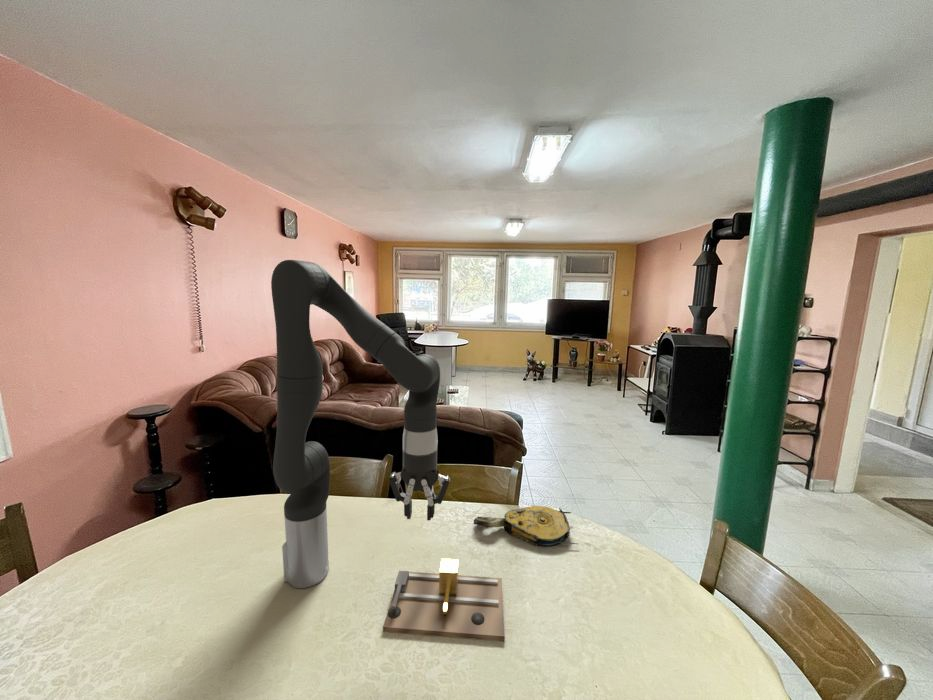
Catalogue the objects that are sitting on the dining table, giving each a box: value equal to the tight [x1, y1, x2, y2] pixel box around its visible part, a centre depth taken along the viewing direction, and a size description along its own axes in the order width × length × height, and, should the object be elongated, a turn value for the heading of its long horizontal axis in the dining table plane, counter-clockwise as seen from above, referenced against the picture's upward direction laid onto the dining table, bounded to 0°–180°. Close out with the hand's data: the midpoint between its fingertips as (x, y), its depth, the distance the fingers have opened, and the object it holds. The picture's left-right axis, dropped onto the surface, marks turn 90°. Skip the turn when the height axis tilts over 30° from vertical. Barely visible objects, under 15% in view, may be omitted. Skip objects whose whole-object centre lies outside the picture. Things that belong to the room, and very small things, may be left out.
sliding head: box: [438, 558, 460, 616], centre depth 80 cm, size 4×10×6 cm, turn 177°
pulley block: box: [473, 505, 578, 548], centre depth 107 cm, size 14×6×30 cm
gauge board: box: [382, 570, 506, 642], centre depth 81 cm, size 25×15×4 cm, turn 87°
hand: (419, 517), depth 81 cm, fingers open, 4 cm apart
